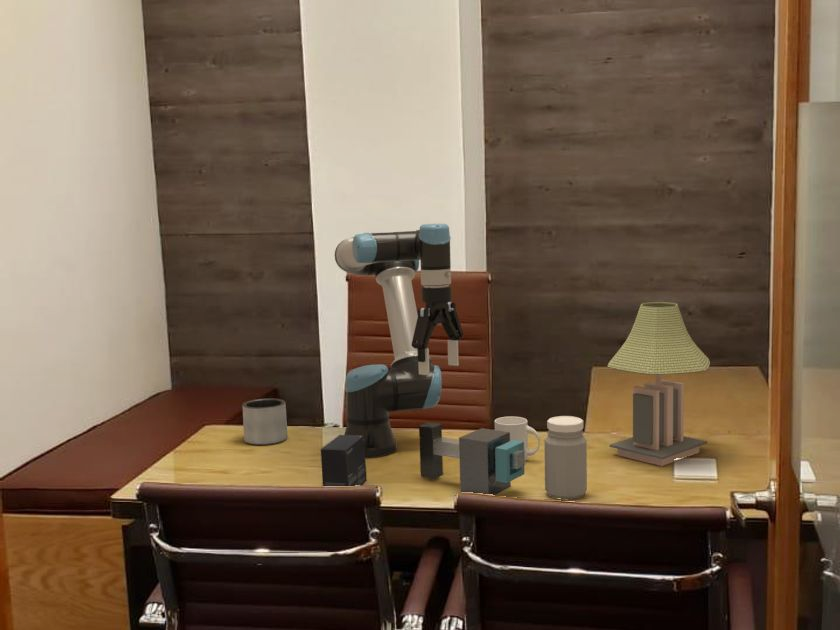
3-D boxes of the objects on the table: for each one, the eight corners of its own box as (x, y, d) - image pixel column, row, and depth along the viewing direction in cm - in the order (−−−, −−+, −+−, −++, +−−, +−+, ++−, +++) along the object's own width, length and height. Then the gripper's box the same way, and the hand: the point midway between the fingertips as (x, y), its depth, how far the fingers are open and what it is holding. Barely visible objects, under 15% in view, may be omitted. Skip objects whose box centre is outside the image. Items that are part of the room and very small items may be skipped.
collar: (495, 481, 240) (495, 447, 239) (513, 472, 247) (513, 439, 245) (506, 483, 238) (506, 449, 237) (524, 474, 245) (523, 441, 244)
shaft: (420, 476, 256) (419, 425, 254) (430, 472, 259) (428, 422, 257) (517, 495, 240) (516, 441, 238) (525, 491, 243) (524, 437, 241)
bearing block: (460, 492, 246) (458, 437, 244) (483, 481, 254) (481, 428, 252) (488, 498, 241) (487, 442, 239) (510, 486, 249) (509, 432, 247)
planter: (245, 436, 303) (243, 399, 302) (288, 433, 305) (286, 396, 303) (242, 447, 291) (240, 409, 289) (287, 445, 292) (285, 406, 291)
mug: (536, 466, 265) (536, 426, 263) (491, 463, 268) (490, 423, 267) (543, 457, 273) (543, 417, 271) (499, 454, 277) (499, 415, 275)
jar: (544, 487, 247) (543, 415, 245) (585, 487, 246) (584, 414, 244) (545, 501, 238) (544, 425, 235) (588, 501, 237) (587, 425, 234)
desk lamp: (675, 475, 254) (676, 315, 248) (585, 453, 275) (584, 305, 269) (732, 453, 270) (734, 303, 264) (643, 434, 291) (644, 294, 285)
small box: (341, 479, 259) (339, 433, 257) (367, 481, 257) (365, 435, 255) (322, 496, 246) (319, 448, 244) (348, 498, 244) (346, 449, 242)
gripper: (420, 291, 243) (424, 379, 246) (474, 281, 264) (477, 362, 266) (395, 290, 247) (398, 377, 250) (450, 280, 268) (452, 360, 271)
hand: (439, 369), depth 258 cm, fingers open, 13 cm apart
